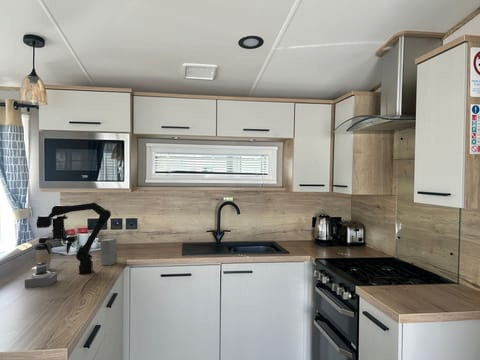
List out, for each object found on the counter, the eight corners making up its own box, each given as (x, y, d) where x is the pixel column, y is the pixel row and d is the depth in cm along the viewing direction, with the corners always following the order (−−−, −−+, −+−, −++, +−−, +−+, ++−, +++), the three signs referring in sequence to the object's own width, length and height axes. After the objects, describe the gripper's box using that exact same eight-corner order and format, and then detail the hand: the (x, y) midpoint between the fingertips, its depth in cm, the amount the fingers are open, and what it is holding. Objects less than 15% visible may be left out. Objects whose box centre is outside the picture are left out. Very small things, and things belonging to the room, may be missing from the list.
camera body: (57, 280, 173) (56, 269, 172) (50, 285, 164) (50, 275, 164) (32, 281, 170) (32, 271, 170) (24, 287, 161) (24, 276, 161)
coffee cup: (32, 272, 186) (32, 247, 186) (38, 267, 196) (37, 243, 195) (50, 271, 189) (50, 246, 189) (55, 266, 198) (55, 242, 198)
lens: (42, 274, 170) (42, 261, 170) (48, 275, 168) (48, 262, 168) (34, 276, 166) (34, 263, 165) (40, 277, 164) (40, 264, 164)
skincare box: (109, 265, 199) (109, 240, 199) (99, 265, 201) (99, 240, 200) (117, 262, 207) (117, 238, 207) (108, 261, 209) (107, 237, 209)
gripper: (80, 224, 190) (80, 250, 191) (46, 225, 187) (46, 251, 187) (74, 227, 179) (74, 254, 180) (38, 228, 176) (38, 256, 176)
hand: (58, 254), depth 181 cm, fingers open, 9 cm apart
